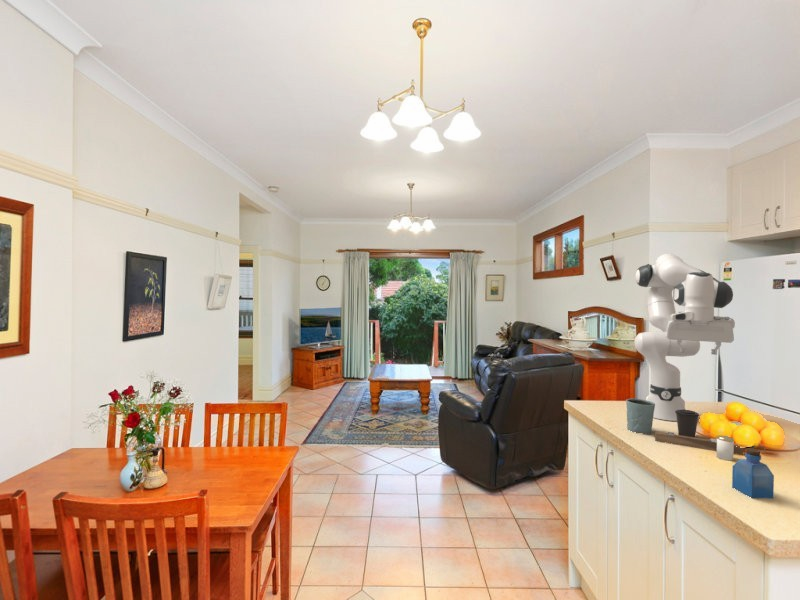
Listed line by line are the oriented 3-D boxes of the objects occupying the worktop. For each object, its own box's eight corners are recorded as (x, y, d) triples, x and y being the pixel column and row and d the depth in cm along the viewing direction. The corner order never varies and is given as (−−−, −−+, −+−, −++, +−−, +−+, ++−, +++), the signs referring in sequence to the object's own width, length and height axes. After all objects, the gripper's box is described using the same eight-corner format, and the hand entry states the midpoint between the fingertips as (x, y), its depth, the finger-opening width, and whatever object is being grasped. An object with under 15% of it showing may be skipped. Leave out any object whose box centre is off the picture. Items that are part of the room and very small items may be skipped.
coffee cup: (704, 439, 159) (705, 413, 159) (683, 439, 159) (684, 413, 159) (689, 432, 167) (690, 408, 167) (669, 432, 167) (670, 407, 167)
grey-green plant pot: (623, 425, 175) (624, 397, 175) (650, 428, 172) (651, 399, 171) (628, 433, 165) (629, 403, 165) (657, 436, 162) (658, 405, 162)
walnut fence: (655, 439, 158) (655, 430, 158) (741, 453, 145) (742, 442, 145) (655, 441, 156) (655, 431, 156) (743, 455, 143) (743, 444, 143)
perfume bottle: (753, 487, 118) (753, 446, 118) (773, 498, 112) (774, 454, 112) (732, 487, 118) (732, 445, 118) (751, 498, 112) (752, 454, 112)
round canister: (715, 454, 143) (715, 434, 143) (731, 457, 141) (732, 436, 141) (717, 458, 139) (718, 438, 139) (734, 461, 137) (735, 440, 137)
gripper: (733, 316, 149) (732, 354, 150) (666, 314, 160) (665, 350, 160) (736, 317, 144) (735, 356, 144) (667, 315, 154) (666, 352, 154)
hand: (698, 353), depth 152 cm, fingers open, 8 cm apart
